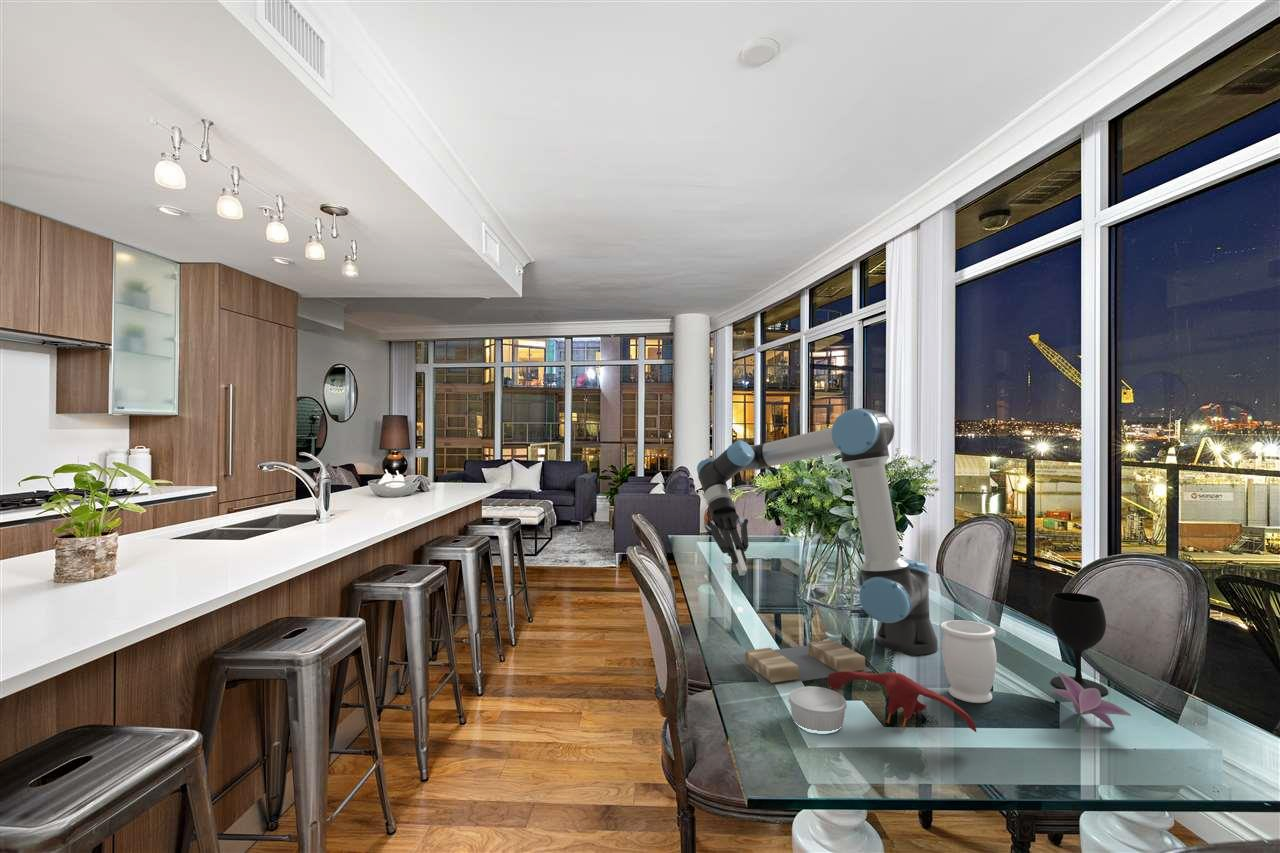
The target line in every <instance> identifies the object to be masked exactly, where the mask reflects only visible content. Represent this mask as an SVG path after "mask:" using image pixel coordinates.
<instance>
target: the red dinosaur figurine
mask: <svg viewBox="0 0 1280 853" xmlns="http://www.w3.org/2000/svg"><path fill="white" fill-rule="evenodd" d="M855 680H865V681H870V682H872V683H875V684H878V685H881V686H883V687H884V689H885V691H886V692H885V693H886V695H887V696H888V704H887V712H888V717H887V720H883V721H884V722H886V723H887V724H888V725H890V724H891V722H890V720H891V716H892V715H894V714H895V713H896V712H897V710H898V709H900V708H902V709H903V717H904V720H903V723H902V725H900V727H901V728H902V729H906V723H907V720H909V719H911V717H912V714H917V715H921V713H920V712H923V711H926V709H927V708H928V707H927V705H925V704H923V703H922V702H920V701H919V700H918V697H919V696H922V697H924V698H928V699H931V700H933V701H937V702H939V703H941V704H943V705H945V706H946V707H948V708H950V709H951V711H954V712H955V713H956V714H957V715H958V716H960V717H961V719H962V720H963V721H965V722H966V724H967V726H968V728H969V729H971V730H972V731H973V732H975V733H977V731H978V730H977V727H976V725H975V722H974V721H973V719H972V718H971V716H969V714H968V713H967V712H966V711H965V710H963V709H962V708H961V707H960V706H959V705H957V704H956V703H955V702H953V701H951V700H950V699H948V698H947V697H946V696H943V695H942V694H939V693H937V692H935V691H934V690H932V689H929V688H928V687H927V688H926V687H923V685H921V684H920V683H917V682H916V681H914V680H913V679H911V678H910V677H907V676H906V675H904V674H903V673H900V672H894V671H893V672H891V671H889V672H882V673H880V672H879V673H875V672H874V673H873V672H872V673H870V672H857V671H856V672H854V671H839V672H834V673H831V674H829V675H828V677H827V682H828V684H829V687H830V689H831V690H842V688H843V687H842V686H848V684H849V682H851V683H853V682H855Z"/></svg>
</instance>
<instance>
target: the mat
mask: <svg viewBox="0 0 1280 853" xmlns="http://www.w3.org/2000/svg"><path fill="white" fill-rule="evenodd" d="M774 650H775V651H776V652H778V653H779V654H781V655H782V656H784V657H786V658H787V659H789V660H790V661H792V662H793V663H795V664H796V665H798V670H799V679H794V680H787V681H780V682H773V683H771V682H770V681H769V680H767V679H766V678H765V677H763V676H762V675H761V674H760V673H758V672H757V671H756V670H754V669H753V668H752V667H750V666H749V665H748V664H746V661H745V653H739V654H732V655H731V656H732V657H733V658H734V659H735V660H737V661H738V662H739V663H740V664H741V665H742V666H744V668H745V669H747V670H748V671H749V672H751V673H752V674H753V675H754V676H755V677H756V678H757V679H759V680H760V681H761V682H762V683H764V685H766V686H767V687H771V686H778V685H785V684H790V683H798V682H804V681H812V680H818V679H826V678H827V679H828V675H829V674H831V673H834V672H837V671H836V670H834V669H832V668H831V667H829V666H827V665H826V664H824V663H822V662H821V661H819V660H817V659H816V658H814V657H812V656H811V655H809V647H808V645H801V646H795V647H787V648H778V649H774ZM865 667H866V669H865V670H858V671H857V672H865V673H870V672H874V671H873V670H872V668H869V667H868V666H866V665H865ZM854 672H856V671H854Z"/></svg>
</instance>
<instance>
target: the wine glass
mask: <svg viewBox="0 0 1280 853" xmlns="http://www.w3.org/2000/svg"><path fill="white" fill-rule="evenodd" d="M1048 604H1049V605H1048V612H1047V613H1048V614H1047V615H1048V621H1049V626H1050V628H1051V630H1052V631H1053V632H1052V633H1054V634H1055V636H1056V637H1057V638H1058V639H1059V640H1060V641H1061V642H1062V643H1063V644H1064V645H1065V646H1066V647H1068V648H1070V649H1071V650H1072V651H1073V653H1074V654H1073V655H1074V660H1075V662H1074V663H1075V675H1074V676H1072V675H1069V676H1068V675H1067V676H1068V677H1070V678H1071V679H1073V680H1074V681H1076V682H1077V683H1078V684H1080V685H1081V686H1082V687H1083V688H1084V689H1088V688H1096V689H1098V690H1099V692H1100V695H1101V698H1102V697H1105V696H1108V695H1109V690H1108V687H1106V686H1104V685H1103V684H1101V683H1099V682H1096V681H1095V680H1094V681H1093V680H1090V679H1087V678H1083V675H1082V655H1083V652H1085V651H1087V650H1089V649H1091V648H1093V647H1094V646H1096V645H1097V644H1098V643H1099V642H1100V641H1101V640H1102V639H1103V637H1104V636H1105V633H1106V628H1107V619H1106V618H1107V617H1106V613H1105V609H1104V607H1103V604H1102V602H1101V599H1100V598H1098V597H1095V596H1092V595H1088V594H1083V593H1077V592H1054V593H1053V594H1052V595H1051V597H1050V601H1049V603H1048ZM1050 682H1051V685H1053V687H1055V689H1062V690H1066V691H1068V690H1067V689H1066V686H1065V684H1064V682H1063V681H1062V679H1061V677H1060V676H1059V675H1058V676H1055V677H1052V678H1051V679H1050Z"/></svg>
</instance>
